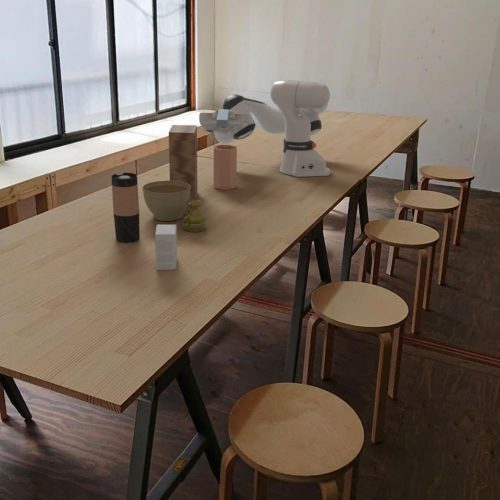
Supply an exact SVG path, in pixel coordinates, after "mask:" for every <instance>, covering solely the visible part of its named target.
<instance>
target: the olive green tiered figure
mask: <svg viewBox="0 0 500 500" xmlns="http://www.w3.org/2000/svg"><path fill="white" fill-rule="evenodd" d="M202 205H203V201H202V200H200V199H198V198H196V199H192V200H189V201H188V202H187V206H188V207H189V208H190V209H189V210H188V211H187V212H186V213H184V215H182V218H183V222H182V223H183V229H184V230H185V232H186V231H187V232H190V233H200V232H204V231H206V229H207V221H206V220H207V215H206V213H204V212H203V211H201V210H200V207H201V206H202Z"/></svg>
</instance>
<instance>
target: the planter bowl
mask: <svg viewBox="0 0 500 500" xmlns="http://www.w3.org/2000/svg"><path fill="white" fill-rule="evenodd" d="M141 189H142V192H143V193H142V195H143V199H144V202H145V205H146V206H147V208H148V211H150V212H151V214H152V217H153V218H154V220H157V221H162V222H169V221H170V222H173V221H176V220H179V219H181V218H183V213H184V212H185V210H186V209H187V207H188V205H187V202H188V201H189V198H190V190H191V186H190V184H188V183H185V182H181V181H170V180H157V181H151V182H148V183H145V184H144V185H142V188H141Z"/></svg>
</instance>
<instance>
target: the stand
mask: <svg viewBox="0 0 500 500" xmlns="http://www.w3.org/2000/svg"><path fill="white" fill-rule="evenodd" d="M168 157H169V158H168V159H169V164H168V165H169V181H181V182H185V183H188V184H190V186H191V190H190V198H189V200H192V199H198V198H197V197H198V125H194V124H193V125H191V124H190V125H189V124H187V125H186V124H172V125H171V127H170V129H169V131H168Z"/></svg>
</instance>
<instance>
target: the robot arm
mask: <svg viewBox="0 0 500 500" xmlns="http://www.w3.org/2000/svg"><path fill="white" fill-rule="evenodd" d="M269 94H270V98H271V101H272V103H273V104H274V105H276V106H277V108H278V109H277V108H273V107H272V106H269V105H267V103H265V102H264V101H263V102H262V101H258V100H255V99H253V98H252V99H251V98H247V97H244V96H243V95H241V94H237V93H236V94H231V95H228V96H227V97H226V98H225V99H224V101H223V104H222V109H226V110H229V118H228V126H227V127H216V126H217V115H218V111H219V109H218V110H217V109H216V110H214V112H209V111H208V112H205V111H202V112H199V114H198V115H199V116H198V117H199V118H198V121H199V124H200V126H201V128H203V132H205V133H206V132H207V133H212V134H214V136H215V138H216V140H217V141H218V142H219V143H221V145H229V144H230V143H232V142H233V141H234V140H243V139H246V138H248V137H249V136H250V135H251V134H253V132H254V131H255V128H256V122H255V120H254V118H253V116H254V117H255V118H256V120H257V122H258V123H259V125H260V127H261V128H262V129H263V130H264V132H266V133H268V134H272V135H277V134H279V135H280V134H284V139H283V141H282V142H283V143H282V152H283V154H282V160H281V163H280V168H279V172H280V173H282V174H285V175H290V176H293V177H298V178H299V177H300V178H302V177H304V178H306V177H328V176H330V175H331V170H330V168H329V167H327V166H326V165H327V164H326V160H325V158H324V156H322V154H320V152H318V151H317V150H316V149H315V148H316V147H317V144H316V142H315V141H313V140H311V136H314V135H315V134H317V133H319V132H320V131H321V130H322V128H323V127H322V126H323V125H322V120H320V116H319V114H322V113H324V112H325V111H326V110H327V108H328V105H329V101H330V99H331V92H330V89H329V87H328V86H327V85H326V84H324V83H321V82H317V81H306V80H305V81H304V80H294V79H293V80H292V79H291V80H290V79H282V80H276V81H275V82H274V83H273V84H272V86H271V88H270V93H269ZM252 115H253V116H252Z"/></svg>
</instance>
